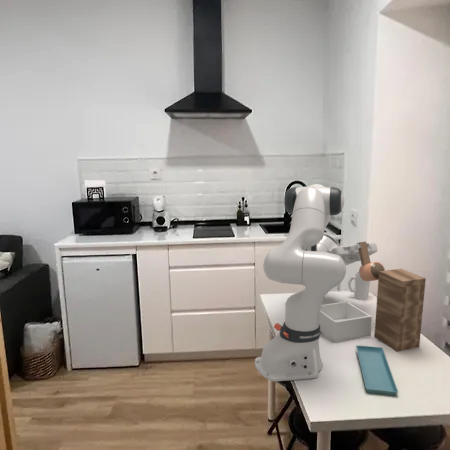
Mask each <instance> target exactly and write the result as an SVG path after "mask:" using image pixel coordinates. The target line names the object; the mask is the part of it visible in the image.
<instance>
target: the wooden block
mask: <svg viewBox="0 0 450 450" xmlns="http://www.w3.org/2000/svg"><path fill="white" fill-rule="evenodd" d="M426 280H427V279H426V277H423V276H420V275H418V274H415V273H413V272H411V271H408V270H405V269H402V268H396V269H395V268H394V269H387V270H386V269H385V271H379V278H378V280H377V282H378V283H377V291H376V292H377V294H376V296H377V297H376V306H375V307H376V309H375V310H376V311H375V323H374V324H375V325H374V338H375V339H377V340H379V342H381V343H383V344H384V345H386V346H388V347H389V348H391V349H392V350H394V351H395V352H402V351H407V350H411V349H417V348H420V343H421V342H420V341H421V331H422V324H423V323H422V322H423V321H422V320H423V312H424V302H425V289H426V282H427V281H426Z"/></svg>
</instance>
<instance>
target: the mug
mask: <svg viewBox="0 0 450 450" xmlns="http://www.w3.org/2000/svg"><path fill="white" fill-rule="evenodd" d="M354 274H355V275H350V278H349V279H348V284H347V285H348V289H349V291H350V293H354V298H355V299H357V300H360V301H362V300H363V301H366V300H368V299H369V294H370V285H371V284H370V283H371V281H369V282H366V281H364V280H362V279H361V277H360V275H359V270H358V271H355V273H354ZM353 280H354V288H352V285H351V284H352V281H353Z"/></svg>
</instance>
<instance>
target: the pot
mask: <svg viewBox="0 0 450 450" xmlns="http://www.w3.org/2000/svg"><path fill="white" fill-rule="evenodd" d="M357 244H361V249H358V250H359V255H360V264H361V266H360V268H359V270H358V271H359V275H360V277H361V279H362V280H364V281H366V282H369V281H370V282H373V281H378V278H379V271H386V268H385V266H384V264H382V263H381V262H380V261H371V258H370V256H369V253H368V248H367V241H360V242H356V245H357Z"/></svg>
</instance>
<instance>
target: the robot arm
mask: <svg viewBox="0 0 450 450" xmlns="http://www.w3.org/2000/svg"><path fill="white" fill-rule="evenodd" d="M283 196H284V197H283V206H284V209H285V211H286V212H287V213H288V214H289V215H291V222H290V227H289V228H290V229H289V231H288V234H287V236H286V238H285V240H284V241H283V242H282V243H281V244H280V245H278V247H276V248H274V249H272V250H270V251H269V252H268V253H267V254H266V256H265V257H264V260H263V272H264V275H265V276H266V277H267V279H268V280H270V281H273V282H276V283H281V284H287V285H301V286H304V287H305V288H304V289H302V290H300V291H299V292H296V293H293V294H292V295H290V296H289V297H288V298H287V299H286V301H285V303H284V304H285V308H284V311H285V312H284V321H283V323H282V325H280V323H278V322H277V323H275V324H274V326H273V328H274V329H275V330H276V331H279V333H278V334H277V335H276V336H274V337H273V338H272V339H271V340H269V341H268V342H267V343H265V344H264V346H263V348H262V350H261V351H262V352H261V356H257V357H256V358H255V359H254V366H255V367H254V368H255V369H256V370H257V372H258V374H260V375H261V376H262V377H264V378H265V379H266V380H268V381H270V382H284V381H285V382H286V381H297V380H309V379H310V380H311V379H316V378H318V376H319V372H320V371H321V370H322V368H323V362H322V358H321V352H320V350H321V349H320V341H319V340H320V337H321V332H320V324H319V317H320V308H321V305H323V302H324V298H325V297H326V296H327V295H328V294H329V292H331V290H333V289H334V288H336V287H337V286H339V285H340V284H342V282H343V280H344V279H345V276H346V272H347V268H346V266H349V265H351V264H353V263H356V262H361V260H360V255H359V250H358V249H361V244H357V243H356V244H350V243H342V245H341V244H340V245H339V244H338V243H337V242H336V240H335V239H334V238H333V237H332V236H331V235H329V234H325V229H326V227H327V226H328V225H329V222H330V220H331V218H332V217H331V216H333V217H334V216H336V215H339V214H340V213H341V212H342V210H343V208H344V206H345V197H344V195H343V191H342V190H341V189H340V188H338V187H335V186H330V187H326V186H324V185H323V184H320V183H313V184H310V185H308V186H300V187H297V186H294V187H291V188H288V189H287V190H286V191H285V193H284V195H283ZM366 244H367V248H368V253H369V257H370V256H372V255H374V254H375V253H377V252H378V247H377V244H376V243H375V242H371V243H370V242H368V243H367V242H366Z"/></svg>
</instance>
